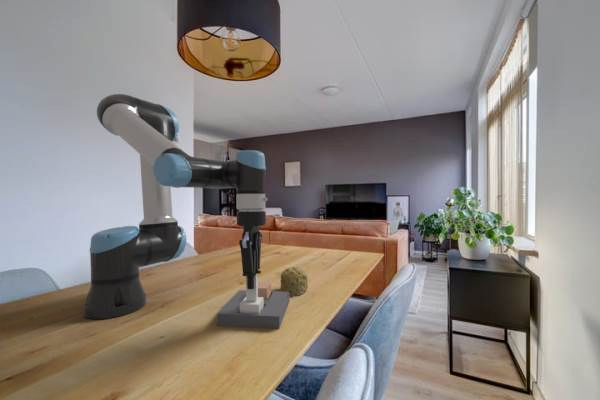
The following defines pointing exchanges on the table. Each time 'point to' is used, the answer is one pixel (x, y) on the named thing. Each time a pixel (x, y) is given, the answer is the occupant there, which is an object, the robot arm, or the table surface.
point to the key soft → (252, 306)
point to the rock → (294, 281)
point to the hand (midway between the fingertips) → (252, 299)
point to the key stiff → (264, 290)
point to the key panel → (266, 319)
